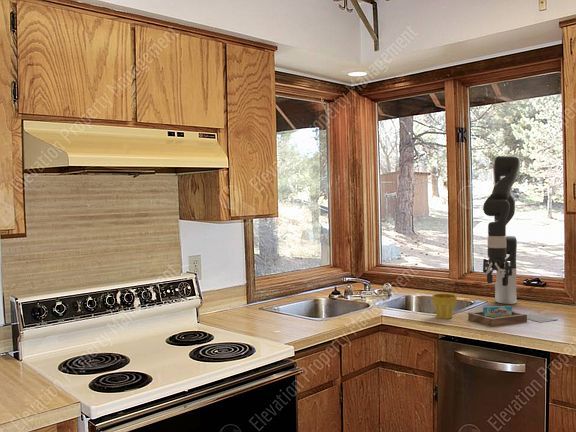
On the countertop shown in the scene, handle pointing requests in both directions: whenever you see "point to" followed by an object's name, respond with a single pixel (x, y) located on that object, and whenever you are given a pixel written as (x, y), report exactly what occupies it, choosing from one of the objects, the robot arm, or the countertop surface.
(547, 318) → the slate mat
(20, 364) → the countertop surface
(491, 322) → the tray
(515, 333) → the countertop surface
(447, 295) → the plant pot
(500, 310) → the snack box
